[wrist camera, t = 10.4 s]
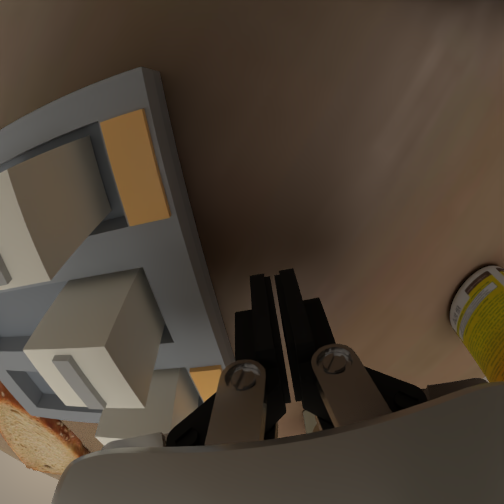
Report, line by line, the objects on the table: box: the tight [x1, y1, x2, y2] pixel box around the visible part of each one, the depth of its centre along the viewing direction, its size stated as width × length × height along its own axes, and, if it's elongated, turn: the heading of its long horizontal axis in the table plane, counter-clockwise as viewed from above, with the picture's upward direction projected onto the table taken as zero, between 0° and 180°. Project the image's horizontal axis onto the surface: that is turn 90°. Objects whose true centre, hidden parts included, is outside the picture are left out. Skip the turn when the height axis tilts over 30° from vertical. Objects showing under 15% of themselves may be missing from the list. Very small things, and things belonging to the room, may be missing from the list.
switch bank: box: [0, 67, 235, 423], centre depth 15 cm, size 19×18×3 cm
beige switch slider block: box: [0, 136, 112, 290], centre depth 9 cm, size 3×4×6 cm
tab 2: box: [95, 367, 199, 446], centre depth 15 cm, size 3×4×6 cm
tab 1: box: [23, 267, 165, 410], centre depth 12 cm, size 3×4×6 cm
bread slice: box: [0, 381, 90, 475], centre depth 24 cm, size 18×18×4 cm
